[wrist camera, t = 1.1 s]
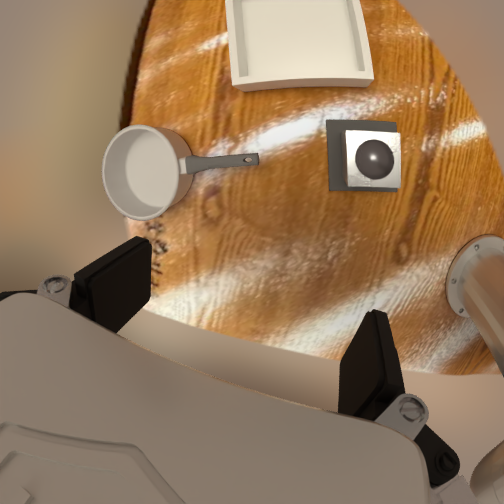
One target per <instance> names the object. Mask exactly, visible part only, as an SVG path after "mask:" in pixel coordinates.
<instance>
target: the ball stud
mask: <svg viewBox="0 0 504 504" xmlns="http://www.w3.org/2000/svg"><path fill="white" fill-rule="evenodd" d="M326 128H327V144H328V164H329V191H381V192H397V188H389V187H358V186H347V184H346V182H345V181H344V179H343V178H342V150H341V133H342V132H344V131H373V132H390V133H397V127H396V122H386V121H368V120H326Z"/></svg>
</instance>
